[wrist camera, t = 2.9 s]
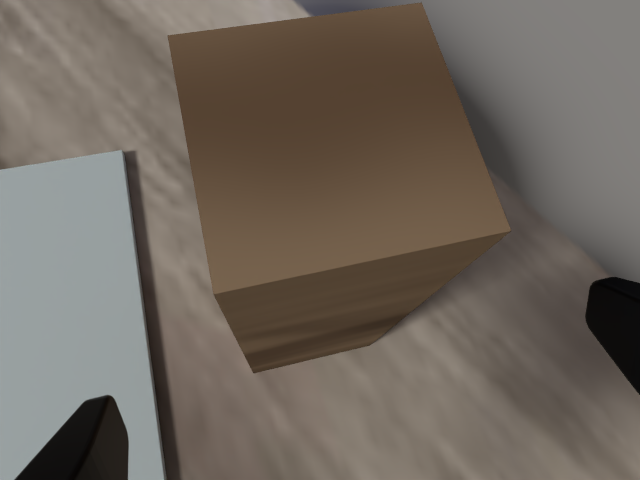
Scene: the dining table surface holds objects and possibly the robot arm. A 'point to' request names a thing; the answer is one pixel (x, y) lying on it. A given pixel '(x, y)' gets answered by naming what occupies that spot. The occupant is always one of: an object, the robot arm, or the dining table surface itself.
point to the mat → (72, 309)
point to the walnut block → (329, 176)
